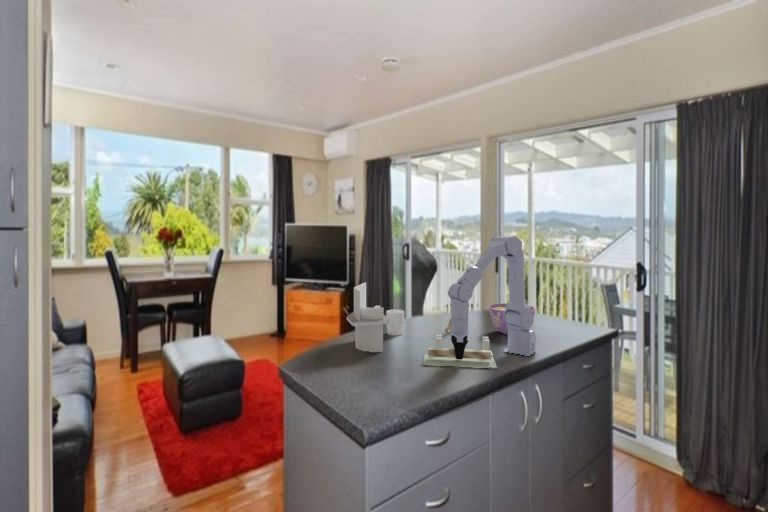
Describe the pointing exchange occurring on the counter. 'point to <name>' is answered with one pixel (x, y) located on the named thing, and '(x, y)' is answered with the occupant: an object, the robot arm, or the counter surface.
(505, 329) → the bowl of food
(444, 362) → the green mat
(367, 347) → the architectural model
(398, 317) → the white cup
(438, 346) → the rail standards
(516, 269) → the robot arm
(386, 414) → the counter surface
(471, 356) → the oak rail
